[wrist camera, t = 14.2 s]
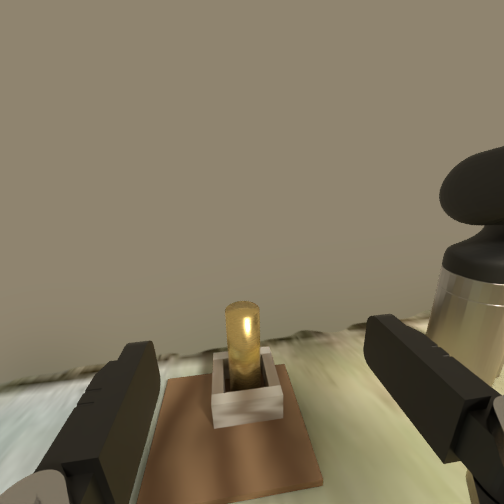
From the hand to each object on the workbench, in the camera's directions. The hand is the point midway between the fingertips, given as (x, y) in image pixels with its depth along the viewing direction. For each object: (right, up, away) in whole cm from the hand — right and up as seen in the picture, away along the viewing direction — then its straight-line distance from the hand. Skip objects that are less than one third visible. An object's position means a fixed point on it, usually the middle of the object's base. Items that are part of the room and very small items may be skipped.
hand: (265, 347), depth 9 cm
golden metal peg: (-1, -17, +26) cm, 31 cm away
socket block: (-3, -19, +23) cm, 30 cm away
